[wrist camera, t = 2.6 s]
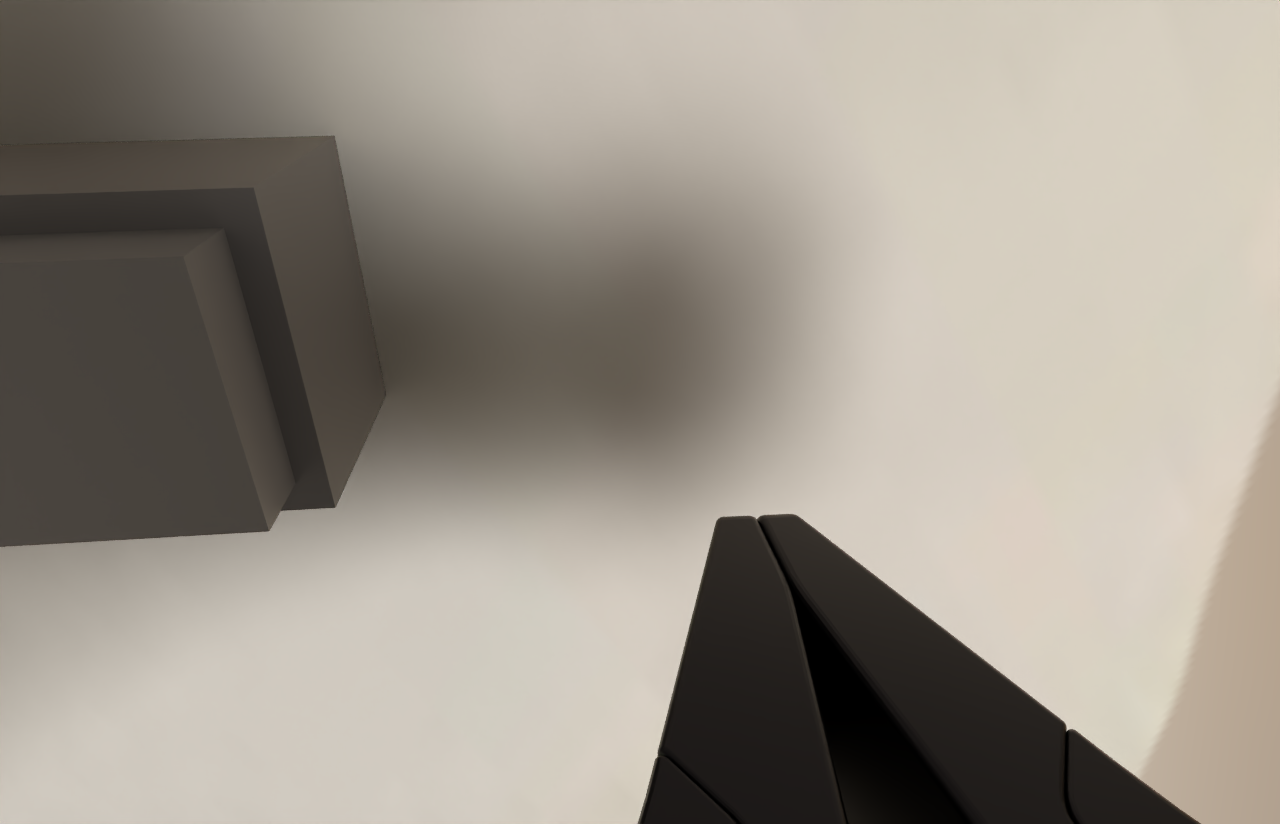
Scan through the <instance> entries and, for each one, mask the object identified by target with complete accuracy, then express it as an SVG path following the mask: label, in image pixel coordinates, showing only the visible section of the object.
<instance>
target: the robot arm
mask: <svg viewBox="0 0 1280 824" xmlns="http://www.w3.org/2000/svg"><path fill="white" fill-rule="evenodd" d="M638 824H1200V823H1199V822H1198V821H1196V820H1195V819H1193V818H1192V817H1190V816H1189V815H1187V814H1186V813H1185V812H1183V811H1182V810H1180V809H1179V808H1178V807H1176V806H1175V805H1173V804H1172V803H1171V802H1169V801H1168V800H1167V799H1165V798H1164V797H1163V796H1161V795H1160V794H1159V793H1157V792H1156V791H1155V790H1153V789H1152V788H1151V787H1149V786H1148V785H1147V784H1145V783H1144V782H1143V781H1141V780H1140V779H1139V778H1137V777H1136V776H1135V775H1133V774H1132V773H1131V772H1129V771H1128V770H1127V769H1125V768H1124V767H1123V766H1121V765H1120V764H1118V763H1117V762H1116V761H1114V760H1113V759H1112V758H1111V757H1109V756H1108V755H1107V754H1105V753H1104V752H1103V751H1102V750H1100V749H1099V748H1098V747H1096V746H1095V745H1094V744H1092V743H1091V742H1090V741H1089V740H1087V739H1086V738H1085V737H1083V736H1082V735H1081V734H1080V733H1078V732H1077V731H1076V730H1073V729H1070V730H1068V731H1067V732H1066V724H1065V723H1064V721H1062V720H1061V719H1060V718H1058V717H1057V716H1056V715H1055V714H1053V713H1052V712H1051V711H1049V710H1048V709H1047V708H1046V707H1044V706H1043V705H1042V704H1040V703H1039V702H1038V701H1036V700H1035V699H1034V698H1033V697H1031V696H1030V695H1029V694H1027V693H1026V692H1025V691H1024V690H1022V689H1021V688H1020V687H1018V686H1017V685H1016V684H1015V683H1013V682H1012V681H1011V680H1009V679H1008V678H1007V677H1005V676H1004V675H1003V674H1002V673H1000V672H999V671H998V670H996V669H995V668H994V667H993V666H991V665H990V664H989V663H987V662H986V661H985V660H984V659H982V658H981V657H980V656H978V655H977V654H976V653H974V652H973V651H972V650H971V649H969V648H968V647H967V646H965V645H964V644H963V643H962V642H960V641H959V640H958V639H956V638H955V637H954V636H953V635H951V634H950V633H949V632H947V631H946V630H945V629H944V628H942V627H941V626H940V625H938V624H937V623H936V622H934V621H933V620H932V619H931V618H929V617H928V616H927V615H925V614H924V613H923V612H922V611H920V610H919V609H918V608H916V607H915V606H914V605H913V604H911V603H910V602H909V601H907V600H906V599H905V598H903V597H902V596H901V595H900V594H898V593H897V592H896V591H894V590H893V589H892V588H891V587H889V586H888V585H887V584H885V583H884V582H883V581H882V580H880V579H879V578H878V577H876V576H875V575H874V574H873V573H871V572H870V571H869V570H867V569H866V568H865V567H863V566H862V565H861V564H860V563H858V562H857V561H856V560H854V559H853V558H852V557H851V556H849V555H848V554H847V553H845V552H844V551H843V550H842V549H840V548H839V547H838V546H836V545H835V544H834V543H832V542H831V541H830V540H829V539H827V538H826V537H825V536H823V535H822V534H821V533H820V532H818V531H817V530H816V529H814V528H813V527H812V526H811V525H809V524H808V523H807V522H805V521H804V520H803V519H801V518H800V517H798V516H797V515H794V514H779V515H762V516H760V517H759V518H758V519H756V518H754V517H752V516H732V517H721V518H719V519H718V520H717V521H716V525H715V528H714V532H713V536H712V540H711V544H710V548H709V552H708V556H707V560H706V564H705V568H704V572H703V576H702V579H701V583H700V587H699V591H698V595H697V599H696V603H695V607H694V611H693V615H692V619H691V623H690V627H689V631H688V635H687V638H686V642H685V646H684V650H683V654H682V658H681V662H680V666H679V670H678V674H677V678H676V682H675V686H674V690H673V694H672V697H671V701H670V705H669V709H668V713H667V717H666V721H665V725H664V729H663V733H662V737H661V741H660V745H659V749H658V757H657V758H656V759H655V762H654V766H653V770H652V774H651V778H650V782H649V786H648V790H647V794H646V798H645V801H644V804H643V808H642V811H641V814H640V818H639V821H638Z"/></svg>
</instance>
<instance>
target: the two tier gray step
mask: <svg viewBox="0 0 1280 824" xmlns="http://www.w3.org/2000/svg"><path fill="white" fill-rule="evenodd" d="M385 397H386V393H385V388H384V383H383V378H382V372H381V367H380V362H379V357H378V352H377V347H376V342H375V337H374V332H373V327H372V322H371V317H370V312H369V307H368V302H367V297H366V292H365V287H364V282H363V277H362V272H361V267H360V262H359V257H358V252H357V247H356V242H355V237H354V232H353V227H352V222H351V216H350V211H349V206H348V201H347V196H346V191H345V186H344V181H343V176H342V171H341V166H340V161H339V156H338V151H337V146H336V141H335V136H309V137H273V138H236V139H200V140H163V141H127V142H90V143H54V144H17V145H0V547H5V546H22V545H40V544H57V543H74V542H92V541H109V540H126V539H144V538H161V537H178V536H195V535H213V534H230V533H247V532H265V531H270V529H271V527H272V525H273V523H274V522H275V520H276V518H277V516H278V514H279V513H280V511H283V510H301V509H319V508H335V507H336V505H337V503H338V501H339V498H340V496H341V494H342V492H343V490H344V487H345V485H346V483H347V481H348V478H349V476H350V474H351V472H352V470H353V467H354V465H355V463H356V461H357V459H358V456H359V454H360V452H361V450H362V448H363V445H364V443H365V441H366V439H367V436H368V434H369V432H370V430H371V428H372V425H373V423H374V421H375V419H376V417H377V414H378V412H379V410H380V408H381V405H382V403H383V401H384V399H385Z"/></svg>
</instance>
